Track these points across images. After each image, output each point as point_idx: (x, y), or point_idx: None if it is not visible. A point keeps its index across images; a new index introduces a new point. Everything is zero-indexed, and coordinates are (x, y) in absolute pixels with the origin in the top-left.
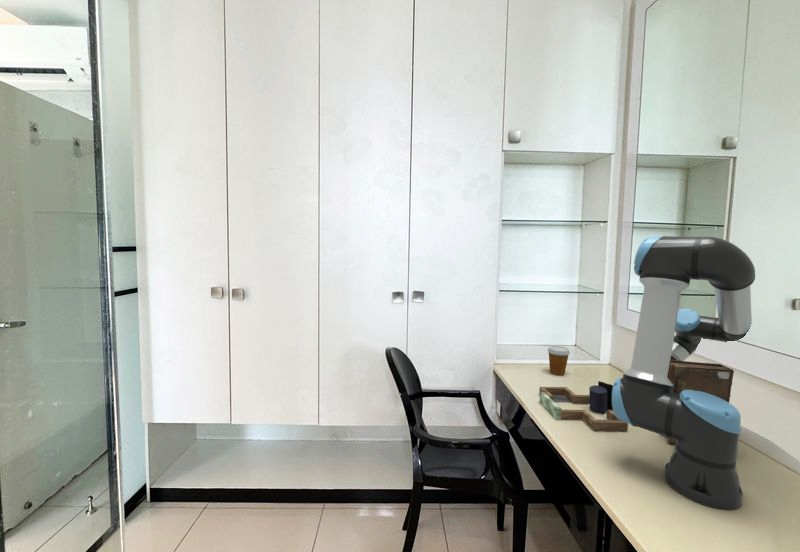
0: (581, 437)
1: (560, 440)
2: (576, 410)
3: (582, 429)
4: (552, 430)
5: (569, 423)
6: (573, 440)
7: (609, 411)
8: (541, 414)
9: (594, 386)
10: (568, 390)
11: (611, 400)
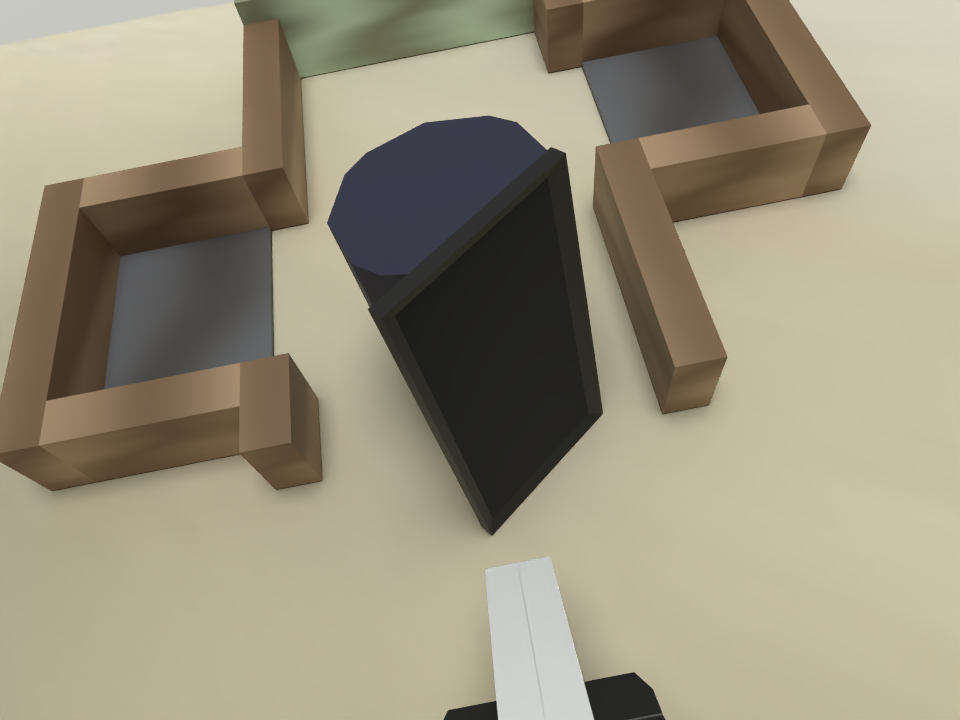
0: (27, 149)
1: (17, 53)
2: (266, 111)
3: None
4: (132, 33)
5: (218, 121)
6: (3, 106)
7: (249, 364)
8: None
9: (521, 161)
10: (761, 127)
11: (464, 441)
